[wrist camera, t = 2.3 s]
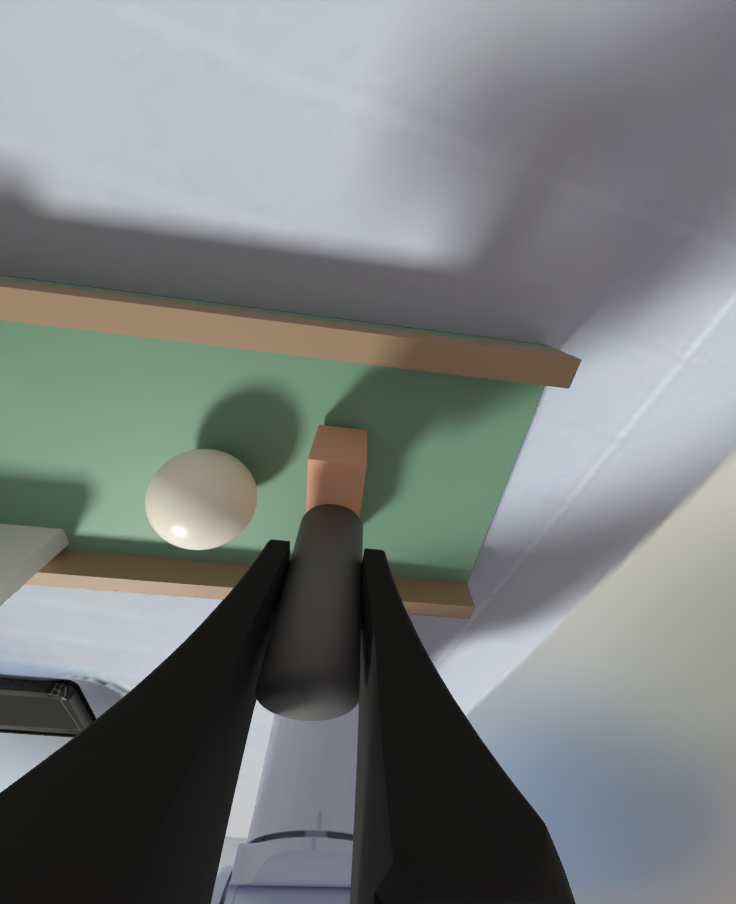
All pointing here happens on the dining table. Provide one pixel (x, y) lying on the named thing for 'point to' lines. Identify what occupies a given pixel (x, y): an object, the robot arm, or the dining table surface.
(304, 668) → the kicker
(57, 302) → the pitch
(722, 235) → the dining table surface
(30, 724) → the phone
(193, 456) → the ball
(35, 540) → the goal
